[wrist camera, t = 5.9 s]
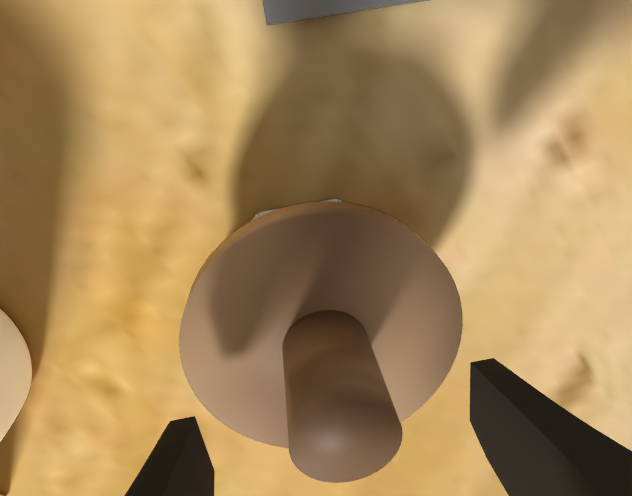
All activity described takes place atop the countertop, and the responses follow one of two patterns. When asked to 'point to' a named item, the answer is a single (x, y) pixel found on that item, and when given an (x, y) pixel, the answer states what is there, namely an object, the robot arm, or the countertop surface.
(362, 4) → the mat
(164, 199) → the countertop surface
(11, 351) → the mug
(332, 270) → the lid
